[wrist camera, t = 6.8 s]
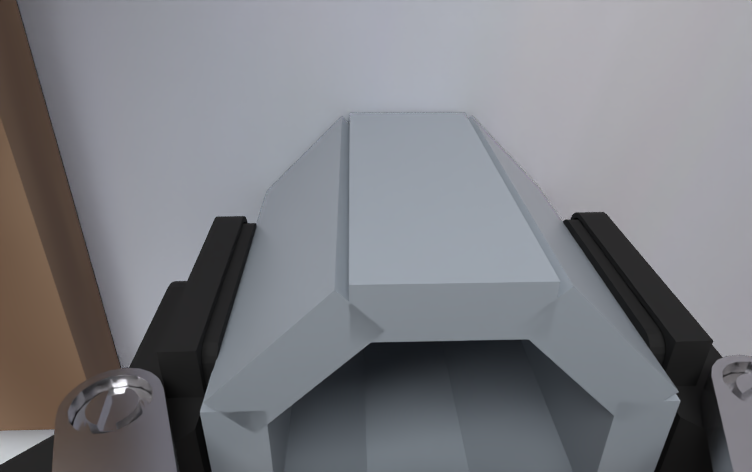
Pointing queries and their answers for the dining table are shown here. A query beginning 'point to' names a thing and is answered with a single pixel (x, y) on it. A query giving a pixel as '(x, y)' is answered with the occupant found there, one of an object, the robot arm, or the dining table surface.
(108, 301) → the dining table surface
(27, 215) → the roll stand
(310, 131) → the dining table surface
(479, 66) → the dining table surface
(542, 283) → the roll
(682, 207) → the dining table surface
